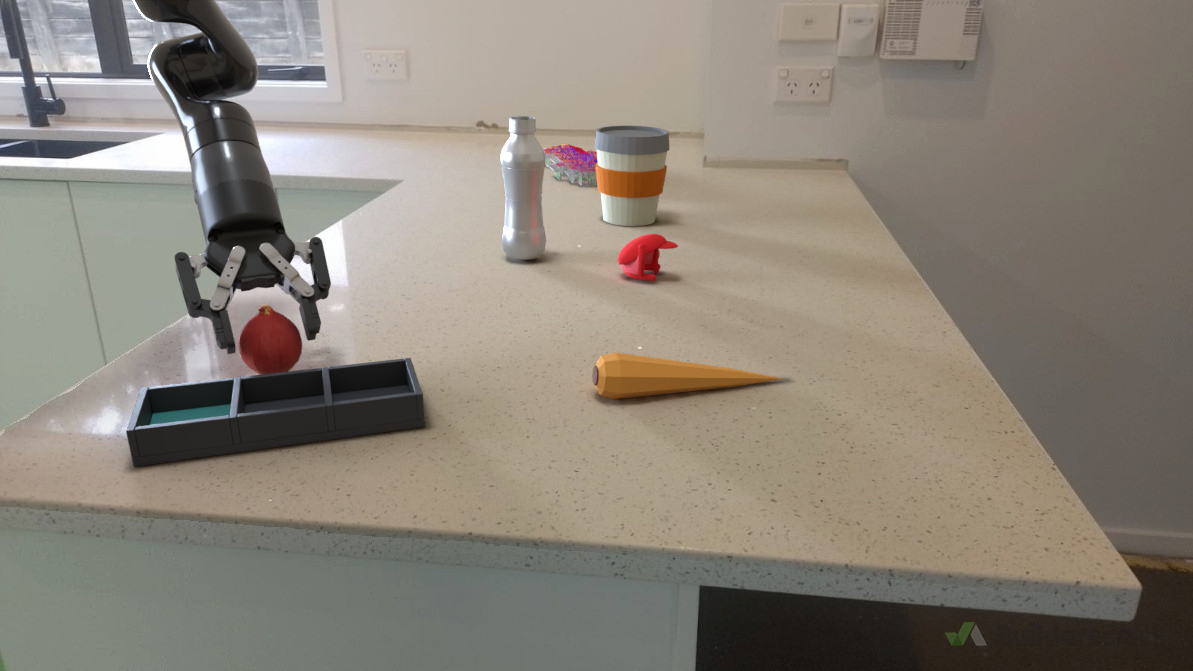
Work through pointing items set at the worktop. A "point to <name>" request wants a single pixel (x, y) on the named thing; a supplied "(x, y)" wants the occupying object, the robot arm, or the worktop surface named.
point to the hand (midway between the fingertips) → (273, 343)
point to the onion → (270, 342)
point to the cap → (643, 256)
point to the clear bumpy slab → (572, 163)
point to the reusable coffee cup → (631, 172)
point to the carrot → (663, 376)
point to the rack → (273, 410)
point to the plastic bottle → (523, 191)
